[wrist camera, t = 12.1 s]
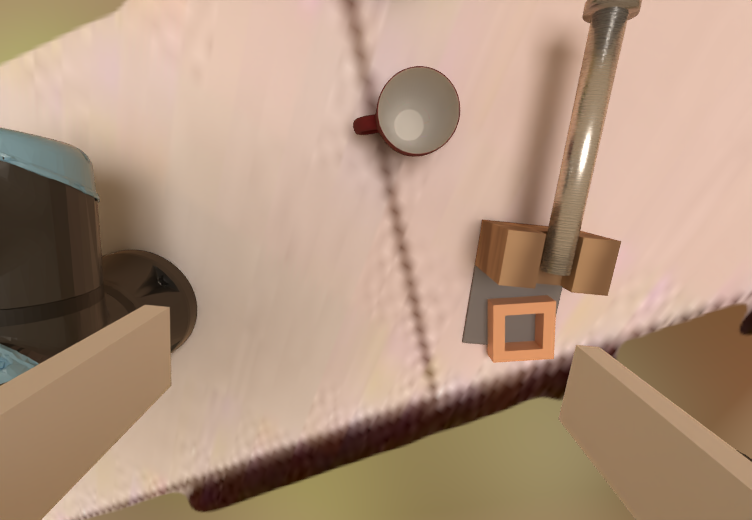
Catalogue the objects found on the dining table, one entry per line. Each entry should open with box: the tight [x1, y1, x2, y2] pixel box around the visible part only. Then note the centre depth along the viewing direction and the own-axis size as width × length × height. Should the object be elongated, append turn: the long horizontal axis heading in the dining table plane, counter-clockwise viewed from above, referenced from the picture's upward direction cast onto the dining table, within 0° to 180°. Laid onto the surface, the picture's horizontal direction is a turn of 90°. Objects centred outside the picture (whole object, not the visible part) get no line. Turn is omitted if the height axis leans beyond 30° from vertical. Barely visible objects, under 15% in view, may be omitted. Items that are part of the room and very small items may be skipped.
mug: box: [353, 66, 460, 156], centre depth 40 cm, size 11×8×10 cm
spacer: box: [488, 295, 556, 363], centre depth 49 cm, size 8×2×8 cm
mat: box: [462, 265, 562, 345], centre depth 50 cm, size 12×11×1 cm
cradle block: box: [475, 220, 621, 296], centre depth 44 cm, size 12×6×10 cm, turn 84°
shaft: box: [540, 0, 642, 276], centre depth 37 cm, size 26×5×5 cm, turn 175°
